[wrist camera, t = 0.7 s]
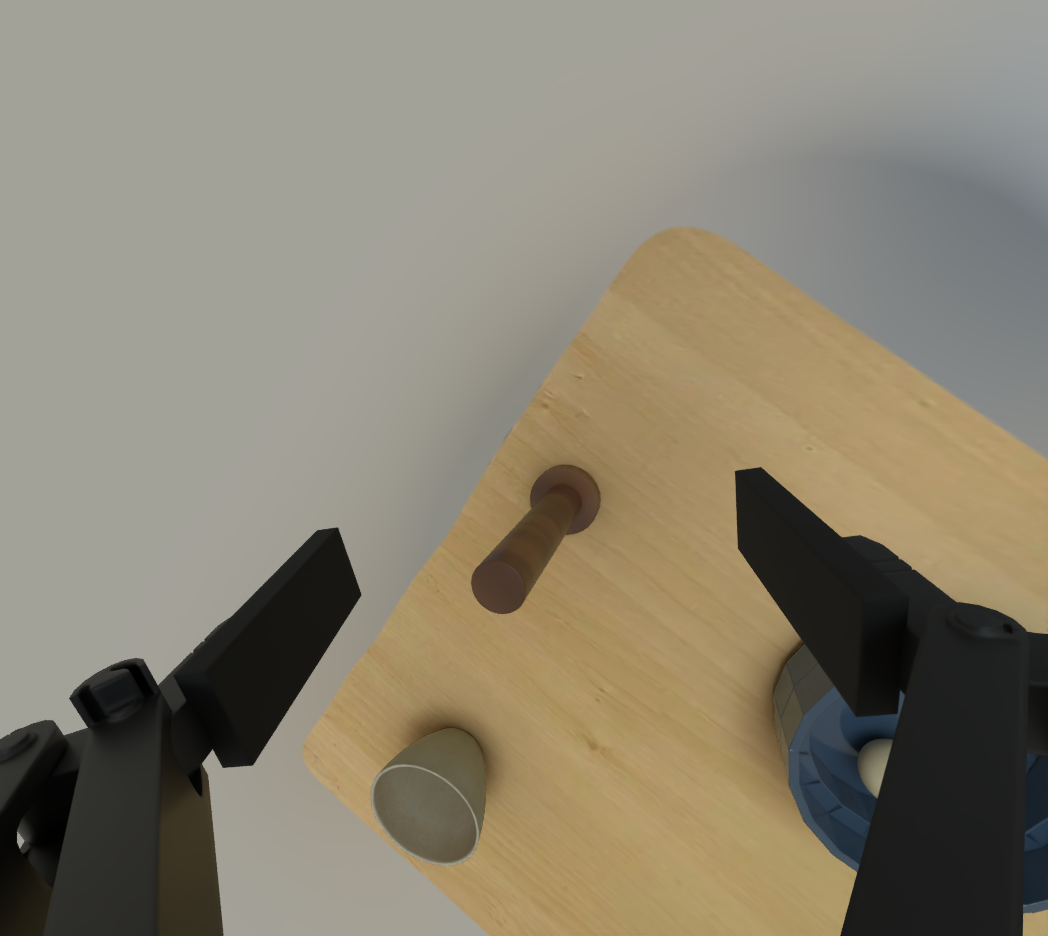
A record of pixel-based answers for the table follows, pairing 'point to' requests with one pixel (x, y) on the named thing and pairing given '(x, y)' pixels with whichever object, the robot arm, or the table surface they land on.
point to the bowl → (835, 784)
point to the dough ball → (873, 763)
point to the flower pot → (433, 797)
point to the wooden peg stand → (536, 537)
